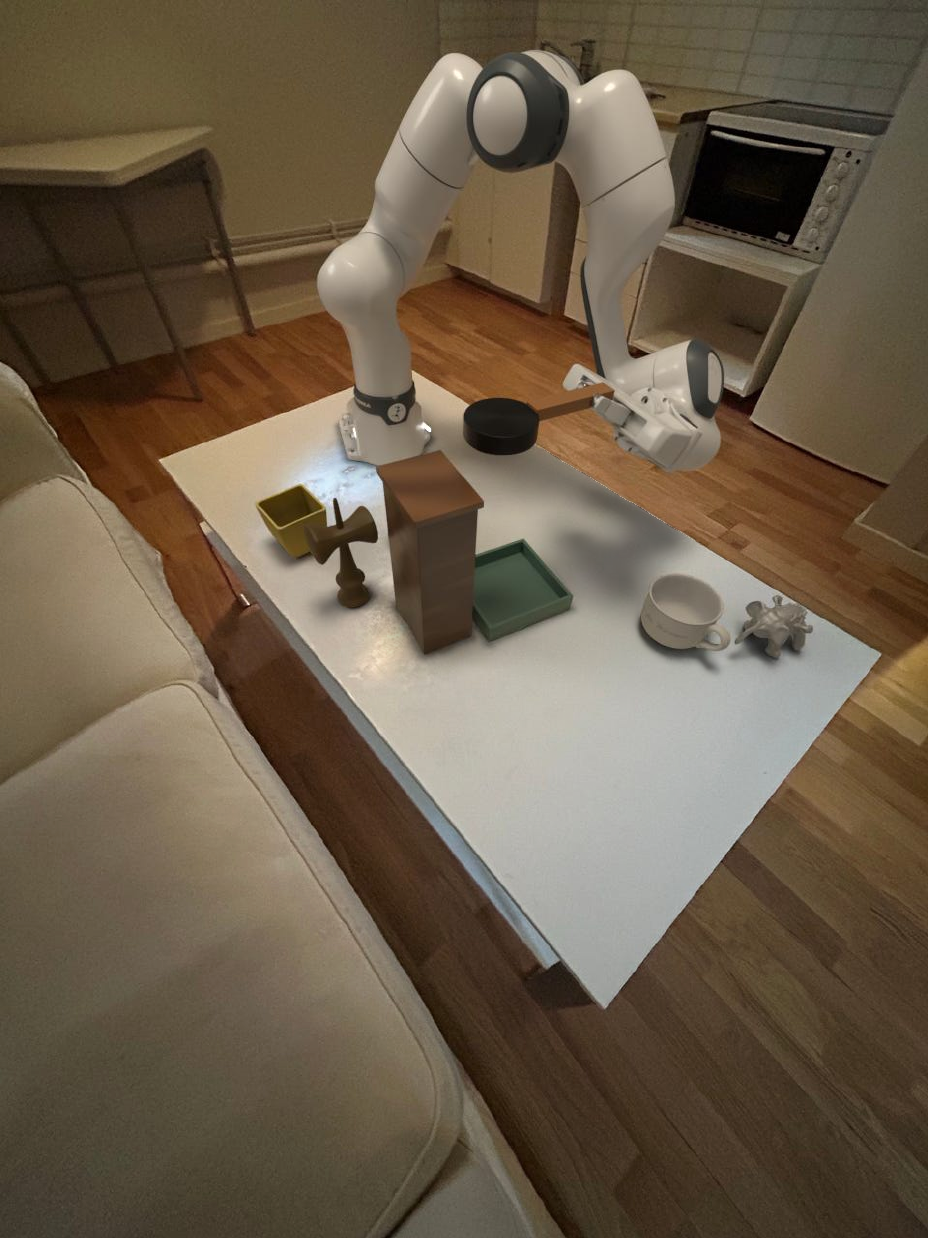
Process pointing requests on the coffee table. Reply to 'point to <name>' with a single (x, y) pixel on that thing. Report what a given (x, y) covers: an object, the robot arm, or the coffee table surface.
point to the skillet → (521, 419)
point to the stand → (432, 546)
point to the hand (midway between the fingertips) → (586, 394)
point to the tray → (514, 590)
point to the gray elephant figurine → (776, 624)
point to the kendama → (344, 550)
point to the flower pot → (292, 517)
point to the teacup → (683, 612)
